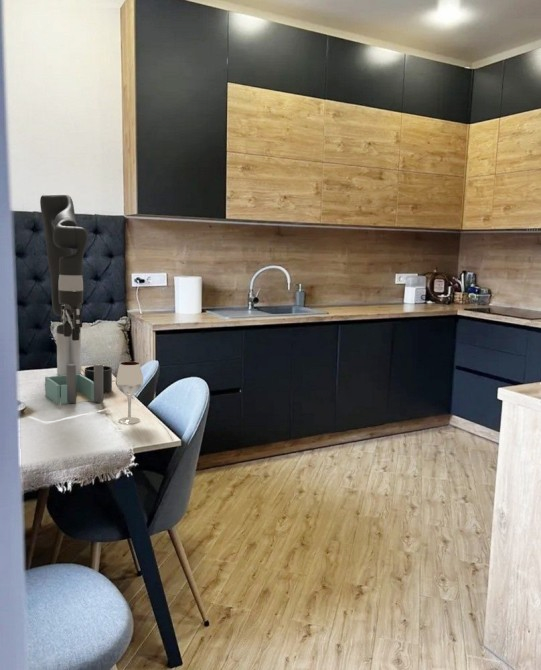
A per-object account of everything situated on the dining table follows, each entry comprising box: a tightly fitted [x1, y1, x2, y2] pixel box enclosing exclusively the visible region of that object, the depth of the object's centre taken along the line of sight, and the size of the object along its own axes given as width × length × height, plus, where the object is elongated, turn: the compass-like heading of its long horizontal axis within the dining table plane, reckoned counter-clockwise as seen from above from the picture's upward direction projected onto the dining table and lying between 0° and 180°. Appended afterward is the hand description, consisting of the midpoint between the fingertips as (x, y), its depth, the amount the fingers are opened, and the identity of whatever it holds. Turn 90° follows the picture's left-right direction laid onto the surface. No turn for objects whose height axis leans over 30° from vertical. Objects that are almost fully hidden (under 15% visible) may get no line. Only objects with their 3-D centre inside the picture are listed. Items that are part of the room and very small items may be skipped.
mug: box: [84, 365, 113, 395], centre depth 202 cm, size 9×12×9 cm
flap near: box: [60, 364, 77, 405], centre depth 183 cm, size 3×5×13 cm, turn 127°
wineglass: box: [115, 361, 144, 425], centre depth 169 cm, size 8×8×18 cm
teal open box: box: [44, 373, 93, 406], centre depth 191 cm, size 14×12×7 cm
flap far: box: [90, 363, 104, 404], centre depth 186 cm, size 3×5×13 cm, turn 57°
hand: (71, 338), depth 182 cm, fingers open, 8 cm apart
